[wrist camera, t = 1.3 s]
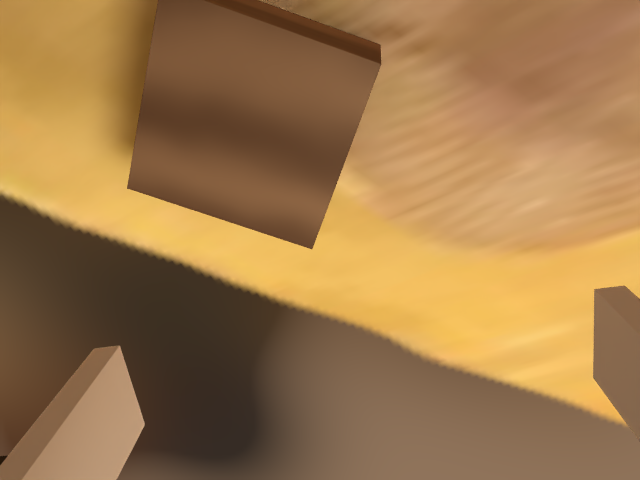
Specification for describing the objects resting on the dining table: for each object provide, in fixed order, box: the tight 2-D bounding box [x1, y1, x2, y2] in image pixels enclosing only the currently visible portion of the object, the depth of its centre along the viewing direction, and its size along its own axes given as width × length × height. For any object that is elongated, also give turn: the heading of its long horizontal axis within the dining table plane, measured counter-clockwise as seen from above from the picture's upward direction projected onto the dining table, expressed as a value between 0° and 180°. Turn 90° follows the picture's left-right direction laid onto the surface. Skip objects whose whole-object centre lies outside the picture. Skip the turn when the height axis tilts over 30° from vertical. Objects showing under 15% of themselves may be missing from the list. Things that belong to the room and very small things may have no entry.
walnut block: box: [127, 0, 381, 249], centre depth 34 cm, size 12×12×6 cm
